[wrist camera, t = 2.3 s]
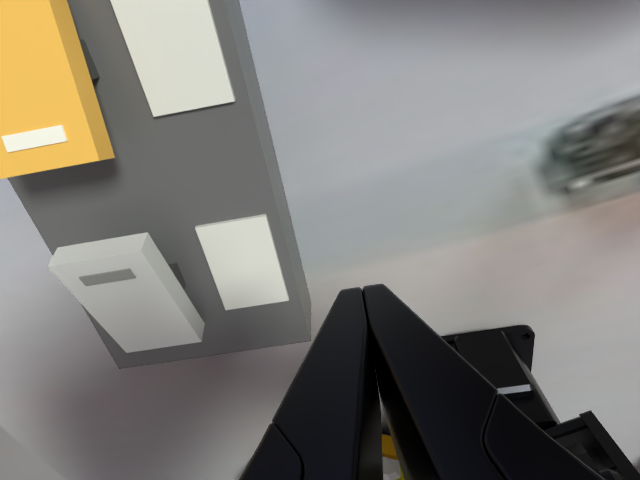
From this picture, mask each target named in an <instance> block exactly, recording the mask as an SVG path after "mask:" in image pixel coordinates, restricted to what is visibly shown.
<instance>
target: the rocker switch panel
mask: <svg viewBox="0 0 640 480" xmlns="http://www.w3.org/2000/svg"><path fill="white" fill-rule="evenodd" d="M67 2H68V5H69V8H70V11H71V15H72V18H73V21H74V25H75V28H76V31H77V34H78V38H79V41H80V44H81V48H82V51H83V54H84V57H85V61H86V64H87V67H88V70H89V74H90V77H91V80H92V84H93V87H94V90H95V93H96V97H97V100H98V103H99V107H100V110H101V113H102V116H103V120H104V123H105V126H106V130H107V133H108V136H109V139H110V143H111V146H112V149H113V153H114V156H115V158H112V159H106V160H101V161H95V162H90V163H84V164H79V165H74V166H68V167H63V168H57V169H52V170H47V171H41V172H36V173H30V174H25V175H20V176H14V177H8V180H9V181H10V183H11V185H12V186H13V188H14V190H15V192H16V193H17V195H18V197H19V198H20V200H21V202H22V204H23V205H24V207H25V209H26V210H27V212H28V214H29V216H30V217H31V219H32V221H33V222H34V224H35V226H36V227H37V229H38V231H39V233H40V234H41V236H42V238H43V239H44V241H45V243H46V245H47V246H48V248H49V250H50V251H51V253H52V255H54V253H55V251H56V250H57V248H58V247H64V246H69V245H75V244H81V243H87V242H93V241H99V240H105V239H111V238H116V237H122V236H128V235H134V234H140V233H146V232H148V233H149V235H150V237H151V238H152V240H153V241H154V243H155V245H156V246H157V248H158V250H159V251H160V253H161V254H162V256H163V258H164V259H165V261H166V262H167V264H168V266H169V267H170V269H171V270H172V272H173V274H174V275H175V277H176V278H177V280H178V282H179V283H180V285H181V286H182V288H183V290H184V291H185V293H186V294H187V296H188V298H189V299H190V301H191V302H192V304H193V306H194V307H195V309H196V310H197V312H198V314H199V315H200V317H201V319H202V320H203V322H204V323H205V324H204V330H203V336H202V342H197V343H190V344H183V345H177V346H170V347H163V348H157V349H150V350H143V351H136V352H130V353H126V352H125V351H124V350H123V349H122V347H121V346H120V345H119V344H118V343H117V342H116V341H115V340H114V339H113V338H112V337H111V336H110V334H109V333H108V332H107V331H106V330H105V329H104V328H103V327H102V326H101V325H100V324H99V323H98V322H97V320H96V319H95V318H94V317H93V316H92V315H91V314H90V313H89V312H88V311H87V310H86V309H85V307H84V306H83V305H82V306H83V308H84V309H85V311H86V313H87V315H88V316H89V318H90V320H91V321H92V323H93V325H94V327H95V328H96V330H97V332H98V333H99V335H100V337H101V339H102V340H103V342H104V344H105V345H106V347H107V349H108V350H109V352H110V354H111V356H112V357H113V359H114V361H115V362H116V364H117V366H118V368H119V369H122V368H128V367H135V366H142V365H149V364H156V363H163V362H170V361H176V360H183V359H190V358H197V357H204V356H211V355H217V354H224V353H231V352H238V351H245V350H252V349H259V348H265V347H272V346H279V345H286V344H293V343H300V342H306V341H311V301H310V297H309V292H308V288H307V284H306V280H305V276H304V272H303V267H302V263H301V259H300V255H299V251H298V246H297V242H296V238H295V234H294V230H293V226H292V221H291V217H290V213H289V209H288V205H287V201H286V196H285V192H284V188H283V184H282V180H281V175H280V171H279V167H278V163H277V159H276V155H275V150H274V146H273V142H272V138H271V134H270V130H269V125H268V121H267V117H266V113H265V109H264V104H263V100H262V96H261V92H260V88H259V84H258V79H257V75H256V71H255V67H254V63H253V59H252V54H251V50H250V46H249V42H248V38H247V33H246V29H245V25H244V21H243V17H242V13H241V8H240V4H239V0H67Z"/></svg>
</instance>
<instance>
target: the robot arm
mask: <svg viewBox="0 0 640 480" xmlns="http://www.w3.org/2000/svg"><path fill="white" fill-rule="evenodd" d="M362 291H363V292H362ZM363 297H364V298H363ZM525 333H526V334H525ZM523 334H524V335H523ZM534 338H535V334H534V332H533V330H532V329H531V327H530V326H527V325H522V326H515V327H508V328H501V329H494V330H487V331H480V332H473V333H466V334H459V335H452V336H445V337H440V336H439V335H438V334H437V333H436V332H435V331H434V330H433V329H432V328H430V327H429V326H428V325H427V324H426V323H425V322H424V321H423V320H422V319H421V318H420V317H419V316H418V315H416V314H415V313H414V312H413V311H412V310H411V309H410V308H409V307H408V306H407V305H406V304H405V303H403V302H402V301H401V300H400V299H399V298H398V297H397V296H396V295H395V294H394V293H393V292H392V291H390V290H389V289H388V288H387V287H386V286H385V285H384V284H376V285H369V286H365V287H363V290H362V289H361V288H359V287H356V288H350V289H343V290H341V291H340V292H339V294H338V296H337V298H336V300H335V302H334V304H333V306H332V307H331V309H330V311H329V313H328V315H327V317H326V319H325V321H324V323H323V325H322V326H321V328H320V330H319V332H318V334H317V336H316V338H315V340H314V342H313V344H312V345H311V347H310V349H309V351H308V353H307V355H306V357H305V359H304V361H303V363H302V364H301V366H300V368H299V370H298V372H297V374H296V376H295V378H294V380H293V382H292V383H291V385H290V387H289V389H288V391H287V393H286V395H285V397H284V399H283V401H282V402H281V404H280V406H279V408H278V410H277V412H276V414H275V416H274V418H273V420H272V422H273V423H271V424H270V425H269V427H268V429H267V430H266V432H265V434H264V436H263V438H262V440H261V442H260V444H259V446H258V447H257V449H256V451H255V453H254V455H253V456H252V458H251V460H250V462H249V463H248V465H247V467H246V469H245V470H244V472H243V474H242V476H241V477H240V479H239V480H383V456H382V431H381V409H380V398H381V402H382V406H383V410H384V414H385V417H386V420H387V424H388V427H389V430H390V434H391V437H392V440H393V444H394V447H395V450H396V454H397V457H398V460H399V463H400V467H401V470H402V473H403V477H404V480H640V474H639V473H638V471H637V470H636V469H635V468H634V466H633V465H632V464H631V462H630V461H629V460H628V458H627V457H626V456H625V455H624V453H623V452H622V451H621V449H620V448H619V447H618V445H617V444H616V443H615V441H614V440H613V439H612V438H611V436H610V435H609V434H608V432H607V431H606V430H605V428H604V427H603V426H602V424H601V423H600V422H599V421H598V419H597V418H596V417H595V415H594V414H593V413H592V411H591V410H590V411H587V412H585V413H582V414H579V415H580V417H577V418H574V419H571V420H568V421H566V422H563V423H560V421H559V419H558V418H557V416H556V414H555V413H554V411H553V409H552V408H551V406H550V404H549V402H548V401H547V399H546V397H545V396H544V394H543V392H542V391H541V389H540V387H539V386H538V384H537V382H536V380H535V379H534V377H533V375H532V374H531V367H532V357H533V347H534ZM374 364H375V365H374ZM375 370H376V371H375ZM376 376H377V377H376ZM377 382H378V384H377ZM378 388H379V390H378ZM379 393H380V398H379Z"/></svg>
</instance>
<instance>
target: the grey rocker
mask: <svg viewBox="0 0 640 480" xmlns="http://www.w3.org/2000/svg"><path fill="white" fill-rule="evenodd" d="M47 267H48V269H49V270H50V271H51V272H52V273H53V274H54V275H55V276H56V277H57V278H58V279H59V280H60V282H61V283H62V284H63V285H64V286H65V287H66V288H67V289H68V290H69V291H70V292H71V293H72V294H73V296H74V297H75V298H76V299H77V300H78V301H79V302H80V303H81V304H82V305H83V306H84V307H85V309H86V310H87V311H88V312H89V313H90V314H91V315H92V316H93V317H94V318H95V319H96V320H97V322H98V323H99V324H100V325H101V326H102V327H103V328H104V329H105V330H106V331H107V332H108V333H109V334H110V336H111V337H112V338H113V339H114V340H115V341H116V342H117V343H118V344H119V345H120V346H121V347H122V349H123V350H124V351H125V352H126V353H130V352H136V351H143V350H150V349H157V348H163V347H170V346H177V345H183V344H190V343H197V342H202V336H203V330H204V324H205V323H204V322H203V320H202V319H201V317H200V315H199V314H198V312H197V310H196V309H195V307H194V306H193V304H192V302H191V301H190V299H189V298H188V296H187V294H186V293H185V291H184V290H183V288H182V286H181V285H180V283H179V282H178V280H177V278H176V277H175V275H174V274H173V272H172V270H171V269H170V267H169V266H168V264H167V262H166V261H165V259H164V258H163V256H162V254H161V253H160V251H159V250H158V248H157V246H156V245H155V243H154V241H153V240H152V238H151V237H150V235H149V233H148V232H146V233H140V234H134V235H128V236H122V237H116V238H111V239H105V240H99V241H93V242H87V243H81V244H75V245H69V246H64V247H58V248H57V250H56V251H55V253H54V255H53V257H52V258H51V260H50V262H49V264H48V266H47Z"/></svg>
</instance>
